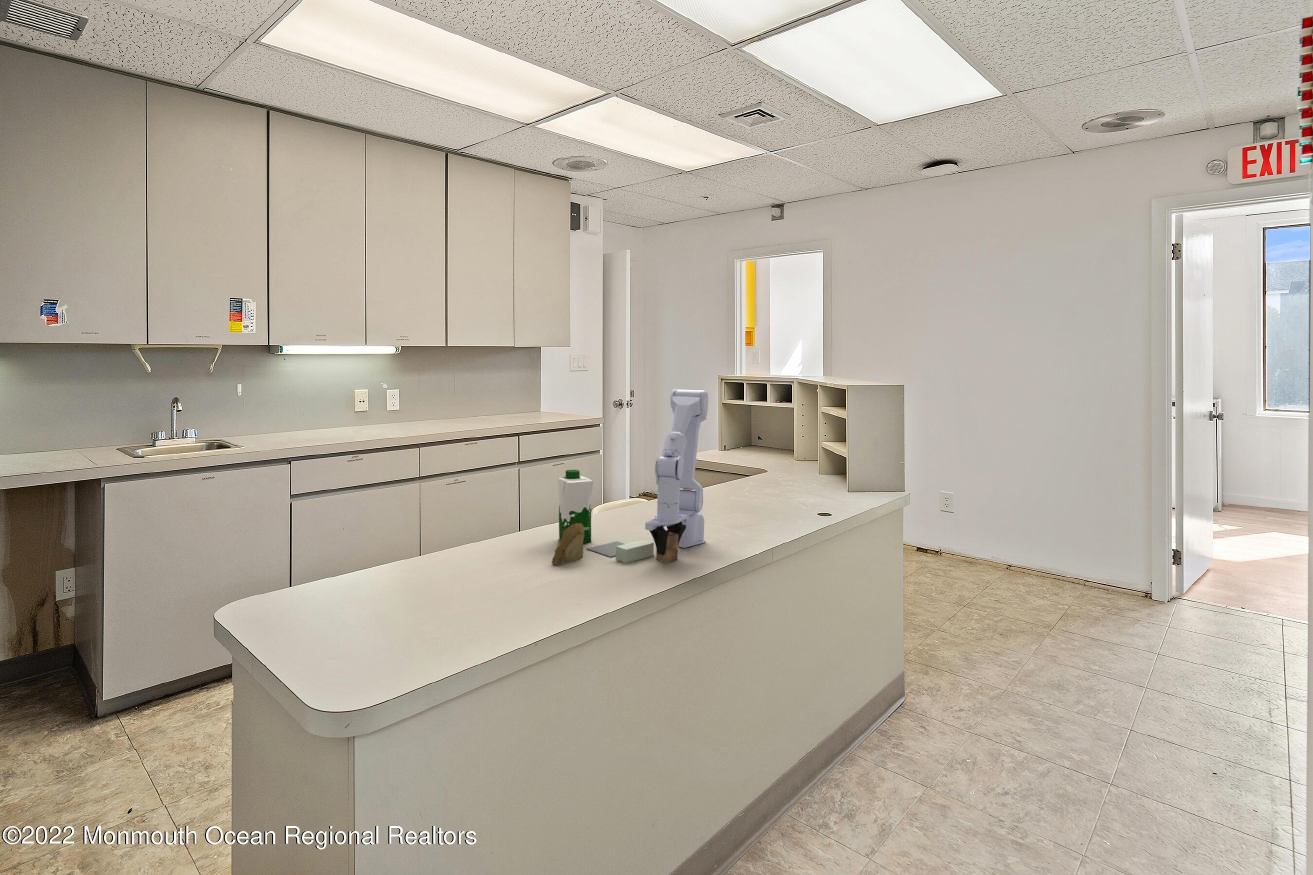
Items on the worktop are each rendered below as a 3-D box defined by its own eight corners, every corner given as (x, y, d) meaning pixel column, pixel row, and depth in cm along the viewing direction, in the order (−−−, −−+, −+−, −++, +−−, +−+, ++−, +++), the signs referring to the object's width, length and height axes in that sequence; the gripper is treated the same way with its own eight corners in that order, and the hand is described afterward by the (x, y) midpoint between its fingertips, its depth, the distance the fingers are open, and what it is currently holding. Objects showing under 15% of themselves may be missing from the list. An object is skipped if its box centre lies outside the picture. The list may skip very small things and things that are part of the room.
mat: (616, 542, 196) (616, 541, 196) (640, 549, 189) (640, 548, 189) (586, 549, 189) (586, 548, 189) (610, 557, 182) (610, 556, 181)
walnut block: (666, 556, 184) (667, 531, 183) (677, 559, 181) (678, 534, 180) (656, 559, 181) (656, 533, 180) (666, 562, 178) (667, 536, 177)
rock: (557, 560, 170) (593, 550, 175) (546, 529, 173) (582, 520, 178) (548, 575, 179) (583, 565, 184) (537, 545, 182) (572, 536, 187)
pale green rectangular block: (643, 552, 187) (643, 539, 187) (653, 555, 184) (653, 542, 184) (615, 559, 180) (615, 546, 180) (626, 562, 177) (626, 549, 177)
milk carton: (582, 535, 203) (583, 468, 201) (595, 542, 195) (596, 473, 193) (554, 538, 199) (555, 470, 196) (567, 546, 191) (567, 475, 188)
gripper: (676, 495, 187) (675, 544, 188) (637, 503, 177) (636, 554, 178) (695, 500, 182) (694, 549, 184) (656, 507, 172) (655, 560, 173)
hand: (667, 552), depth 181 cm, fingers closed on walnut block, 4 cm apart
